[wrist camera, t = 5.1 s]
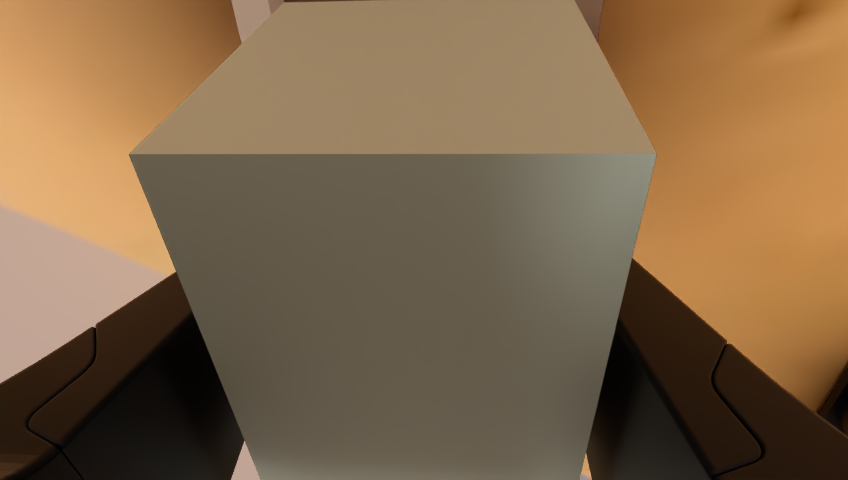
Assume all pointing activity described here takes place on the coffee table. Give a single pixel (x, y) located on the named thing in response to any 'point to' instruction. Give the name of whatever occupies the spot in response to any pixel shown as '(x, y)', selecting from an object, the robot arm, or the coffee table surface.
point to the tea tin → (406, 235)
